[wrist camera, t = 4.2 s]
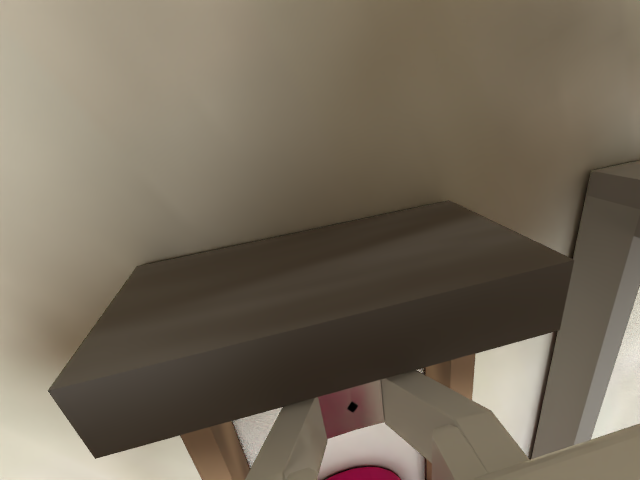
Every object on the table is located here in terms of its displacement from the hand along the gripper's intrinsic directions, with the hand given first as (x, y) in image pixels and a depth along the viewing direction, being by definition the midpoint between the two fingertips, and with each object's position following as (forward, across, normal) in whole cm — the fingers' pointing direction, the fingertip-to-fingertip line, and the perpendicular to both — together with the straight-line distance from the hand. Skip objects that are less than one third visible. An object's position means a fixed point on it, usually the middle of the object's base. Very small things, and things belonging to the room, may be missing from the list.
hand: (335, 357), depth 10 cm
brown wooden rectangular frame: (+3, 0, +9) cm, 9 cm away
